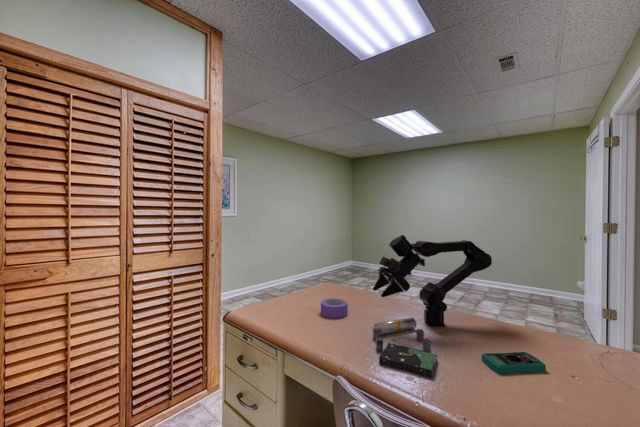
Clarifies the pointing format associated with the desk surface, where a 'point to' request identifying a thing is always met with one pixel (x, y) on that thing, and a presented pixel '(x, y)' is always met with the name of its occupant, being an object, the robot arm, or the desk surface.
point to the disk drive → (409, 360)
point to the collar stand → (380, 341)
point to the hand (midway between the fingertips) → (377, 292)
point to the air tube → (396, 325)
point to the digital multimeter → (513, 362)
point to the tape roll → (334, 308)
